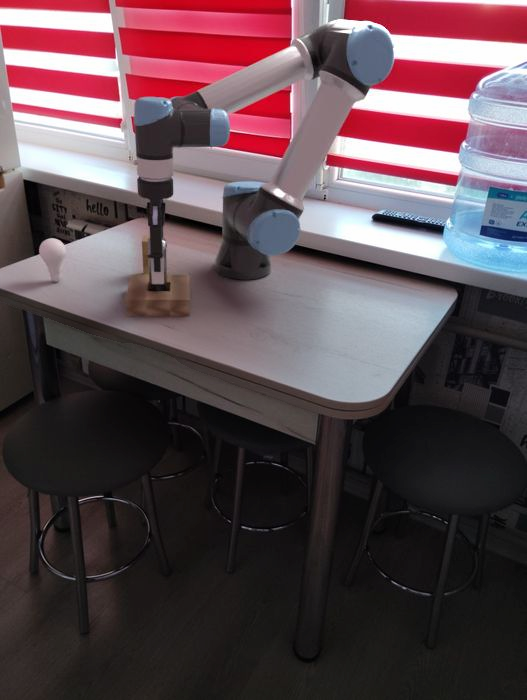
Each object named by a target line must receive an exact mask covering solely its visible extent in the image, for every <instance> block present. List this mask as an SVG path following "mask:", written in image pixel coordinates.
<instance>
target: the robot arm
mask: <svg viewBox="0 0 527 700" xmlns="http://www.w3.org/2000/svg"><path fill="white" fill-rule="evenodd" d="M394 45H395V43H394V39H393V37H392V35H391V33H390V32H389V30H388V29H386V28H385V27H384V26H383V25H381V24H378V23H375V22H373V21H369V20H363V21H359V20H348V19H336V20H332V21H330V22H329V21H328V22H326V23H324V24H322V25H320V26H318V27H316V28H314V29H312V30H310V31H307V32H306V33H304V34H302V35H300V36H298V37H295V38H294V39H292V42H291V43H290V46H288V47H286V48H284V49H282V50H280V51H278V52H276V53H274V54H271V55H269V56H267V57H265V58H262V59H261V60H259V61H257V62H255V63H252V64H251V65H248V66H246V67H244V68H242V69H240V70H238V71H235V72H234V73H232V74H229V75H228V76H225V77H223V78H222V79H219V80H217V81H215V82H212V83H211V84H208V85H206V86H204V87H202V88H200V89H198V90H196V91H193V92H192V93H189V94H187V95H184V96H173V97H171V98H166V97H160V96H159V97H156V96H143V97H139V98H137V99H136V100H135V102H134V113H133V115H134V118H133V125H134V139H135V156H136V157H135V158H136V159H135V160H133V165H135V166H137V167H136V175H137V179H136V180H137V181H136V182H137V187H136V188H137V195H138V196H139V197H140V198H142V199H148V200H149V201H147V202H146V205H145V206H146V215H147V225H148V227H149V236H150V249H151V254H150V255H148V258H151V274H152V284H164V262H163V253H162V237H163V238H164V226H165V220H166V219H165V216H166V215H165V214H166V208H167V207H166V202H164V200H167V199H171V198H172V197H173V196H174V179H173V178H172V177H173V176H174V154H173V153H174V152H173V151H174V148H176V149H177V148H178V149H179V148H211V149H212V148H216V147H223V146H225V145H226V144H227V143H228V141H229V139H230V135H231V134H230V133H231V126H230V125H231V124H230V118H229V115H231V114H234V113H235V112H238V111H240V110H242V109H244V108H246V107H248V106H250V105H252V104H254V103H256V102H258V101H260V100H263V99H265V98H267V97H269V96H270V95H273V94H275V93H277V92H280V91H281V90H283V89H285V88H287V87H290V86H292V85H294V84H296V83H299V82H300V81H302V80H303V81H304V82H305V81H306V82H310V81H312V80H315V79H317V78H319V79H320V85H319V87H318V88H317V90H316V93H315V94H314V95H313V98H312V99H311V102H310V104H309V106H308V108H307V110H306V112H305V113H304V116H303V118H302V119H301V120H300V123H299V126H298V127H297V129H296V131H295V133H294V135H293V137H292V139H291V141H290V143H289V144H288V147H287V148H286V149H285V152H284V154H283V155H282V158H281V159H280V162H279V164H278V166H277V168H276V169H275V172H274V174H273V176H272V177H271V179H270V181H269V182H267V183H266V182H263V181H261V182H260V181H249V180H248V181H244V180H243V181H234V182H229V183H227V184H225V186H224V187H223V192H222V235H221V236H222V239H221V243H220V246H219V249H218V251H217V254H216V256H215V261H214V263H215V264H214V269H215V270H216V272H217V273H218V274H219V275H221V276H223V277H227V278H231V279H235V280H256V279H260V278H264V277H266V276H268V275H270V273H271V272H272V259H271V256H272V257H274V256H276V257H277V256H279V255H282V254H285V253H287V252H289V251H290V250H291V249H292V248H294V247H295V245H297V242H298V241H299V238H300V235H301V231H302V230H301V223H300V217H301V216H302V214H303V213H304V210H305V208H304V207H305V206H304V202H303V198H304V197H305V195H306V194H307V191H308V190H309V188H310V186H311V184H312V182H313V181H314V178H315V177H316V175H317V173H318V172H319V169H320V167H321V166H322V163H323V162H324V161H325V160H324V159H325V158H326V156H327V154H328V153H329V151H330V149H331V147H332V145H333V143H334V142H335V140H336V138H337V136H338V134H339V133H340V131H341V128H342V127H343V124H344V123H345V121H346V119H347V117H348V116H349V113H350V111H351V110H352V108H353V106H354V104H355V103H356V102H360V101H363V100H365V98H366V96H367V95H368V93H369V92H370V89H371V87H372V86H376V85H378V84H379V83H382V82H384V80H386V79H387V77H388V76H389V75H390V73H391V71H392V69H393V66H394V62H395V59H396V58H395V57H396V50H395V49H396V48H394V47H395V46H394ZM167 245H168V244H167V242H166V248H168V247H167Z"/></svg>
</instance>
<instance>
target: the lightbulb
mask: <svg viewBox="0 0 527 700" xmlns="http://www.w3.org/2000/svg"><path fill="white" fill-rule="evenodd" d="M38 252H39V256H40V258H41V259H42V261H43V262H44V263H45V265H46V267H47V270H48V273H49V276H50V280H51V281H53V282H54V283H58V282H60V281H61V280H62V271H63V262H64V260H65V258H66V255H67V248H66V246H65V244H64V243H63V242H62V241H61V240H59V239H57V238H53V237H51V238H47V239H45V240H43V241H42V242H41V243H40V245H39V249H38Z"/></svg>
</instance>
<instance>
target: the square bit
mask: <svg viewBox="0 0 527 700" xmlns="http://www.w3.org/2000/svg"><path fill="white" fill-rule="evenodd" d="M149 238H150V235H142V238H141V254H142V270H143V274H149V259H148V239H149Z"/></svg>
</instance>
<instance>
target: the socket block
mask: <svg viewBox="0 0 527 700" xmlns="http://www.w3.org/2000/svg"><path fill="white" fill-rule="evenodd" d="M126 291H127V293H126V297H125V308H126V316H128V317H132V316H135V317H137V316H138V317H141V316H142V317H144V316H145V317H147V316H148V317H150V316H151V317H152V316H159V317H161V316H162V317H163V316H164V317H167V316H172V317H174V316H175V317H178V316H180V317H181V316H182V317H184V316H185V317H186V316H189V317H190V315H191V314H190V313H191V311H190V310H191V308H190V307H191V305H190V303H191V302H190V301H191V300H190V299H191V298H190V297H191V296H190V295H191V293H190V274H167V290H166V291H150V285H149V274H139V273H138V274H137V273H136V274H135V273H134V274H130V277H129V282H128V287H127V290H126Z"/></svg>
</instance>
